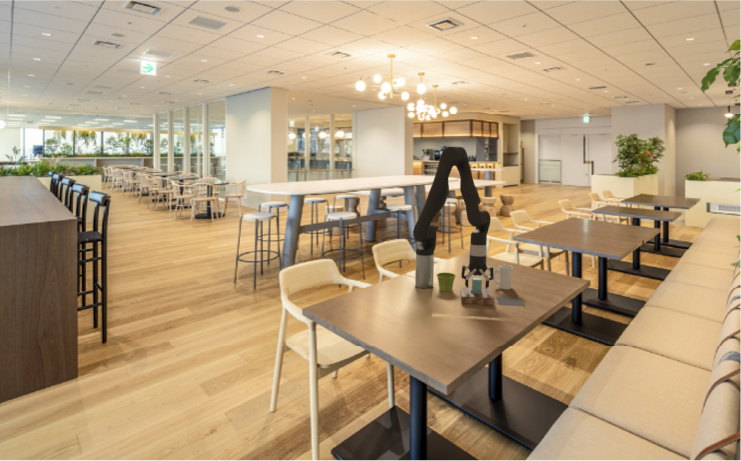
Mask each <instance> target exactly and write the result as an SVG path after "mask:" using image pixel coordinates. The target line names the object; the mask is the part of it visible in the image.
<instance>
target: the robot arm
mask: <svg viewBox="0 0 741 461" xmlns="http://www.w3.org/2000/svg"><path fill="white" fill-rule="evenodd" d="M453 167H455V168H456V169H457V171H458V174H459V178H460V181H459V182H460V184H459V189H460V194H461V197H462V199H463V202H464V204H465V212H466V218H467V222H468V223H469V224H470V225H471V226H472V227H474V228H475V229H474V230H473V231H472V232H471V234H470V245H469V251H468V252H469V260H468V261H469V262H468V263H469V264H468V265H465V264H462V265H461V279H463V280H464V287H467V288H468V287H469V280H470V278H471V277H473V276H475V277H476V276H480V277H481V276H483V278H484V279H485V283H484V284H485V286H484V288H486V289H487V288H490V281H493V279H494V278H493V273H494V266H492V265H490V266H487V253H488V250H487V249H488V248H487V236H488V233H489V229H490V226H491V219H492V218H491V214H490V212H489V211H488V210H486V209H480V210H479V205H480V204H481V203H482V200H481V197H480V195H479V192H478V188H476V187H477V186H476V185H475V182H474V179H473V175H472V170H471V165H470V161H469V155H468V153H467V150H466V149H465V148H464V147H463V146H460V145H448V146H447V145H446V147H444V148H443V149H442V152H441V153H440V157H439V161H438V164H437V168H436V173H435V175H434V178H433V181H432V184H431V186H430V188H429V191H428V195H427V197H426V199H425V203H424V205H423V208H422V211H421V213H420V215H419V217H418V220H417V221H416V223H415V224H414V228H413V233H412V236H413V239H414V240H415V241H416V242H419V243H420V244H419V245H418V247H417V248H416V250H415V273H414V275H415V279H414V280H415V284H414V285H415V286H414V287H415V288H421V289H430V288H433V287H434V273H435V272H434V266H435V262H434V259H435V250H436V247H437V230H436V226H435V224H433V223H432V222H433V220H434V218H436V216H437V215H438V214H439V213H440V212H441V210H442V209H443V208H444V207H445V204H446V202H447V200H448V197H449V193H450V185H449V179H450V178H449V177H450V174H451V171H452V169H453ZM467 270H469V271H468V273H467V274H466V271H467ZM486 271H488V272H489V276H488V275H487V273H486Z"/></svg>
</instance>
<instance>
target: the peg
mask: <svg viewBox="0 0 741 461" xmlns="http://www.w3.org/2000/svg"><path fill="white" fill-rule="evenodd" d="M471 277H472V278H471V279H472V280H471V287H472V294H481V290H482V288H483V286H482V284H483V283H482V282H483V279H482V277H476V276H475V277H473V276H471Z"/></svg>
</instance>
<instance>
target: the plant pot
mask: <svg viewBox="0 0 741 461" xmlns="http://www.w3.org/2000/svg"><path fill="white" fill-rule="evenodd" d="M436 277H437V280H438V282H437V283H438V288H439V291H441V292H444V293H449V292H452V291H453V287H454V282H455V279H456V274H455V273H453V272H438V273H437V274H436Z"/></svg>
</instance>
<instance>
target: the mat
mask: <svg viewBox="0 0 741 461" xmlns="http://www.w3.org/2000/svg"><path fill="white" fill-rule="evenodd" d="M495 298H496V301H497V304H498V305H499V306H514V307H523V308H524V309H525V304H524V302H523V300H522V298H521V297H512V296H510V297H509V296H495Z"/></svg>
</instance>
